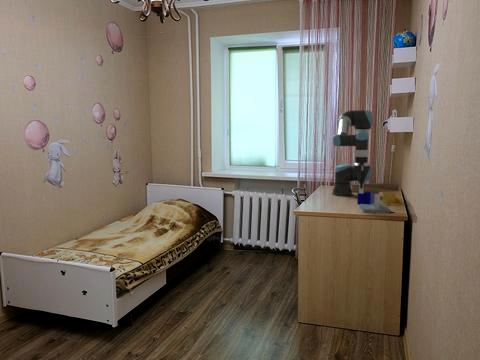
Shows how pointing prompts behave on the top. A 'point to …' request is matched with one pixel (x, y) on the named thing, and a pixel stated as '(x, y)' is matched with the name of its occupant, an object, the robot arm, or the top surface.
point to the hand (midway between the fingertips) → (360, 192)
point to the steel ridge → (375, 200)
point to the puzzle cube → (364, 198)
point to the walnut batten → (376, 187)
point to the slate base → (370, 209)
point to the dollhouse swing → (391, 199)
